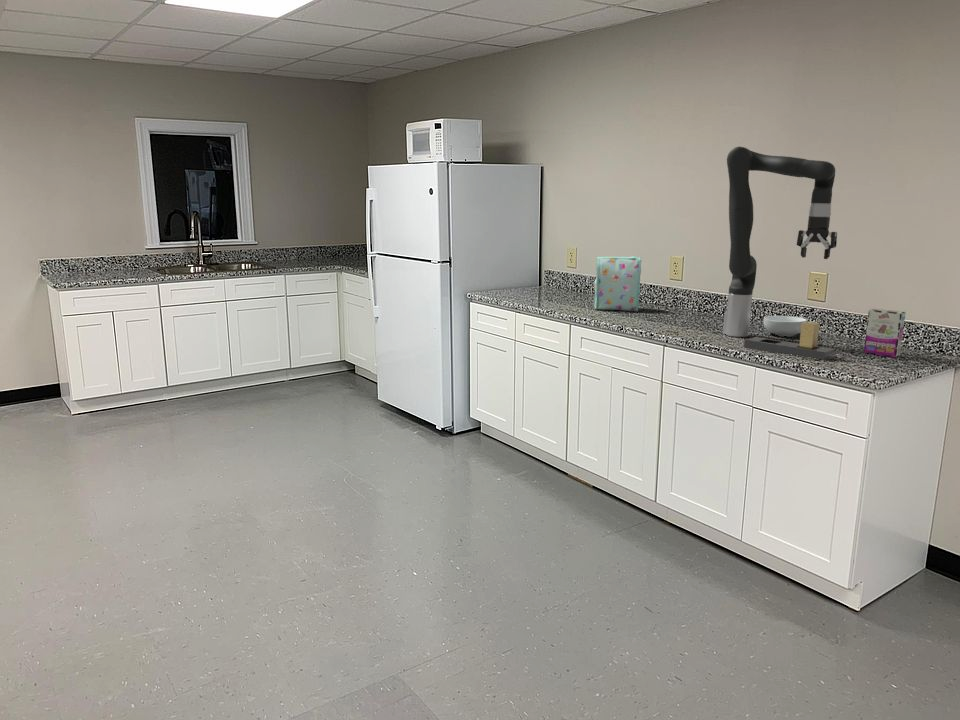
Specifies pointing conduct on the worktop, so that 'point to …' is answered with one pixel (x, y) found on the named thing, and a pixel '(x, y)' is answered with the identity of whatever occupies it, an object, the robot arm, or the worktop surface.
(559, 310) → the worktop surface
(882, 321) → the candy bar box
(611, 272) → the lunch bag
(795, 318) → the cereal bowl
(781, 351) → the grey peg board
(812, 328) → the brass peg
